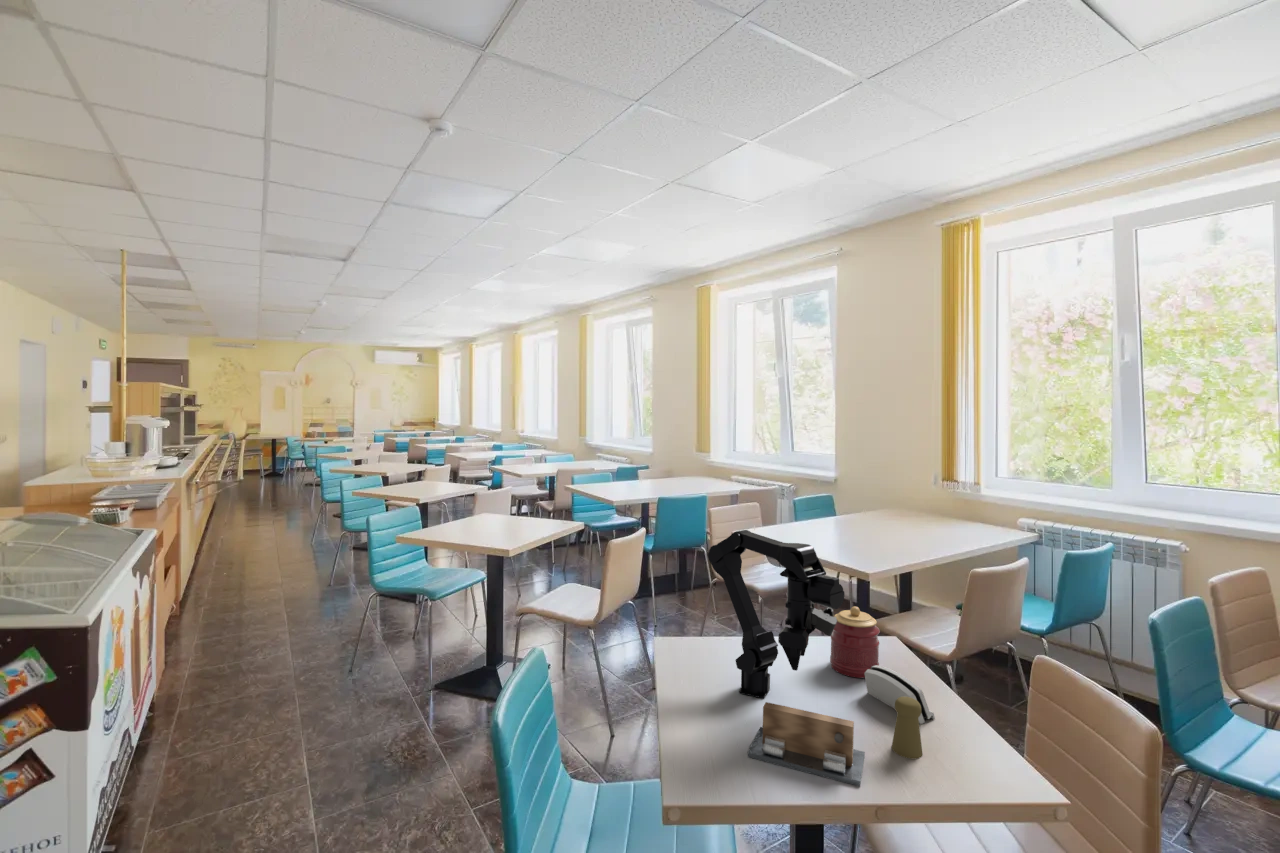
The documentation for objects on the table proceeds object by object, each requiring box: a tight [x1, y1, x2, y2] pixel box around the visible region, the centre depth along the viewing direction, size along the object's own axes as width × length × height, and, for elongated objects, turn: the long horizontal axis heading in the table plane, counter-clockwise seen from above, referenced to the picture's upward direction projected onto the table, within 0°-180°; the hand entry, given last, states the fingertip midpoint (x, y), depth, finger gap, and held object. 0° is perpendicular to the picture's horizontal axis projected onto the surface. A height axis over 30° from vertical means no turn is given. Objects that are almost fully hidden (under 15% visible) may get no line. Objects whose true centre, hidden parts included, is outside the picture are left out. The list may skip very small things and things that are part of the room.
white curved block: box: [864, 665, 936, 725], centre depth 144 cm, size 17×5×10 cm, turn 24°
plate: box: [747, 726, 866, 787], centre depth 122 cm, size 22×11×4 cm, turn 65°
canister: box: [829, 606, 881, 679], centre depth 165 cm, size 13×13×18 cm
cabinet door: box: [762, 701, 855, 766], centre depth 122 cm, size 18×4×8 cm, turn 65°
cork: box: [891, 696, 924, 760], centre depth 125 cm, size 6×6×11 cm
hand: (798, 662), depth 140 cm, fingers open, 9 cm apart
